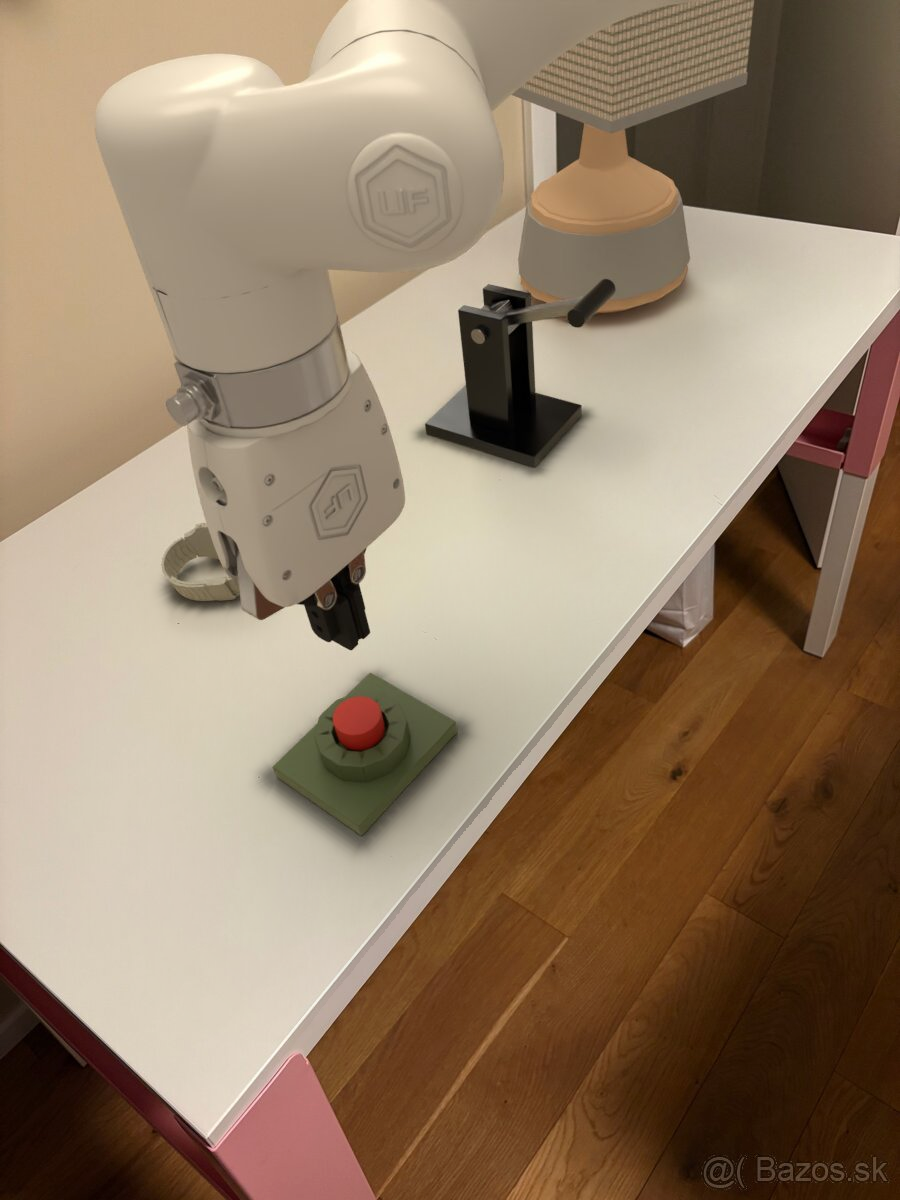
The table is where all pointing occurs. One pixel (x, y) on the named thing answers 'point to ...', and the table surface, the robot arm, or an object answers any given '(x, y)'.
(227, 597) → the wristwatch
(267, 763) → the table surface
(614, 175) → the desk lamp
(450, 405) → the bracket
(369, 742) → the button
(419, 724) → the button box
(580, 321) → the lever
